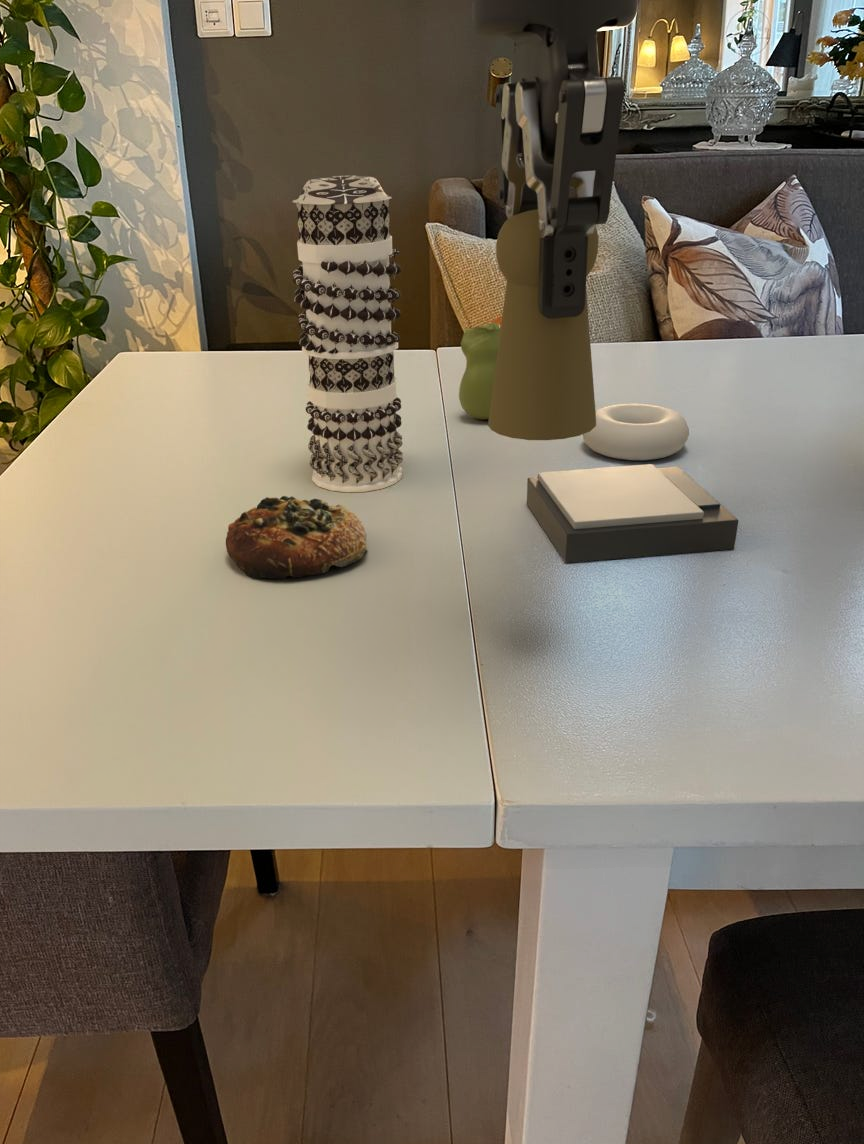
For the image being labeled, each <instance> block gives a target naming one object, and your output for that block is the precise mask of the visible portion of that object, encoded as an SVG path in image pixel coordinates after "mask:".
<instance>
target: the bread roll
mask: <svg viewBox="0 0 864 1144" xmlns="http://www.w3.org/2000/svg"><path fill="white" fill-rule="evenodd" d="M227 529H228V530H227V532H226V538H225V549H226V552H227V554H228V556H229V557H230V558H231V559H232V560H233V561H234V563H235V565H236V566H237V567H238V568H239V569H240V571H242V572H243V573H244V574H245V575H246V576H247V577H250V578H258V579H263V578H266V579H270V578H271V579H281V580H282V579H286V578H288V576H289V577H290V576H291V577H292V578H305V577H308V576H314V575H319V574H325V573H327V572H328V571H329V570H330V567H331V566H335V567H338V568H345V567H347V566H349V565H351V564H353V563H355V562H357V561H358V560H359V561H360V559H361V558H364V554H365V553H366V552H367V550H368V548H369V547H368V546H367V545H368V544H367V533H366V529H365V527H364V525H363V523H362V520H360V519H359V517H358V516H357V514H356V513H355V512H352V511H350V510H349V509H348V510H347V509H346V508H345V506H344V505H341V504H337V505H336V506H335V505H329V504H328V502H327V501H325V500H322V499H319V498H313V499H310V500H307V499H303V500H300V499H297V498H295V496H293V495H292V496H287V495H281V497H280V498H278V497H268V496H266V497H265V498H262V499H261V500H260V502H259V503H258V504H257V505H256V507H252V508H251V509H249V510H247V511H243V512H242V513H241V514H240V516H239V517H238V518H237V519H235V521H233V522H231V523H230V524H228V527H227Z"/></svg>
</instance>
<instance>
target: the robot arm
mask: <svg viewBox="0 0 864 1144" xmlns="http://www.w3.org/2000/svg"><path fill="white" fill-rule="evenodd" d="M471 2H472V3H471V5H472V6H471V7H472V9H471V10H472V11H471V13H472V20H471V21H472V28H473V30H474V33H476V34H477V35H478V36H479V37H482V38H487V39H501V38H509V39H511V40H512V41H513V45H514V50H513V56H512V67H511V74H510V82H505V83H503V84H497V86H496V88H495V92H494V95H493V101H494V104H495V122H496V147H497V150H496V151H497V169H498V170H497V172H498V173H497V175H498V176H497V177H498V191H497V199H498V201H499V204H500V207H502V208H503V207H505V210H504V211H505V216H506V218H507V219H509V218H510V217H511V216H514V215H517V214H520V213H523V212H526V211H531V210H535V209H538V215H539V221H538V228H539V231H540V235H541V237H542V238H540V257H539V297H538V309H539V312H540V313H541V314H542V315H543V316H545V317H546V318H549V319H554V318H566V317H576V316H579V315H580V314H581V313H582V312H583V311H584V308H585V295H586V292H587V277H586V274H587V254H588V236H586V235H591V234H593V233H594V230H595V226H596V227H597V225H606V223H608V219H609V215H610V211H611V208H610V207H611V199H612V191H613V185H614V184H613V182H614V176H615V166H616V160H617V151H618V142H619V136H620V128H621V122H622V121H621V120H622V112H623V105H624V97H625V84H624V79H623V77H622V76H605V77H602V76H600V63H599V62H600V61H599V50H598V49H599V47H598V39H597V37H598V32H602V31H611V30H618V29H623V28H626V27H628V26H629V25H631V24H632V23H633V22H634V21H635V19H636V17H637V14H638V8H639V7H638V6H639V0H471ZM570 187H572V188H574V190H575V191H576V197H570V190H571V189H570ZM507 219H506V220H507Z"/></svg>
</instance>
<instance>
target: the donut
mask: <svg viewBox="0 0 864 1144" xmlns="http://www.w3.org/2000/svg"><path fill="white" fill-rule="evenodd" d="M595 411H596V427H594V428H593V429H592V430H591V431H590V432H587V433H585V434H582V438H583V441H584V444H586V445H587V446H588V447H589V448H590V449H591V451H593V452H596V453H598V454H600V455H603V456H604V457H608V458H613V459H616V460H624V461H651V460H659V459H664V458H667V457H670V456H672V455H674V454H677V453H678V452H679V451H680V450H682V449H683V448H684V446H685V444H686V443H687V442H688V439H689V436H690V429H689V425H688V424H687V420H686V419H685V418H684V417H683V416H682V415H681V414H680V413H678V412H676V411H675V410H672V409H669V408H667V407H665V406H664V407H663V406H659V405H653V404H645V403H621V404H612V405H608V406H604V407H601V408H599V409H597V410H596V409H595Z"/></svg>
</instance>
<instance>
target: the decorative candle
mask: <svg viewBox="0 0 864 1144" xmlns="http://www.w3.org/2000/svg"><path fill="white" fill-rule="evenodd" d="M390 199H393V196H392V195H389V194H387V193H386V192H385V191H384V189H383V188H382V186H381V184H380V182H379V181H378V180H377V178H376V177H374V176H372V175H371V176H370V175H332V176H322V177H314V178H311V179H309V180H308V181H306V182H305V184H304V186H303V187H302V190H301V192H300V195H299V197H298V198H297V199H294V200H292V201H291V203H294V204H296V206H295V207H296V209H297V227H298V231H299V232H298V233H299V235H298V237H299V238H298V240H297V241H296V245H297V246H296V247H297V258H298V261H300V262H301V264H300V265H298V267H297V268H296V269H295V270H294V271H293V272H292V282H293V284H295V285H296V286H298V288H296V289H295V291H294V296H293V302H295V303H296V304H298V305H299V306H300V308H301V309H303V311H302V312H301V313H300V314H299V315H298V317H297V325H298V327H299V329H301V330H303V331H302V332H301V333H300V334H299V341H298V345H300V346H301V352H302V353H304V354H305V355H307V356H308V373H309V380H308V384H307V387H308V388H307V390H308V391H307V392H308V401H307V402H306V406H305V412H306V414H308V415H310V418H309V419H308V422H307V423H308V424H307V425H306V428H307V430H309V431H311V433H312V435H311V436H310V438H309V440H308V441H309V442H308V445H307V448H308V450H309V452H311V454H310V460H309V466H310V468H311V469H313V471H312V476H311V479H312V482H313V483H314V484H315V485H316V486H317V487H320V488H322V489H324V490H328V491H332V492H341V493H365V492H373V491H377V490H383V489H386V488H387V487H391V486H394V485H396V484H397V483H398V482H399V481H400V480H401V479H402V478H403V468H402V466H400V464H402V463H403V461H404V458H403V454H404V453H403V451H402V450H400V448H401V447H402V445H403V443H404V442H403V435H402V434H401V433H399V431H398V430H397V429H398V428H400V427H401V426H402V417H401V415H400V414H397V412H398V411H400V410H401V409H402V399H401V398H400V397H398V395H397V377H396V376H395V359H394V358H395V356H394V352H395V351H396V350H397V349H399V341H400V340H401V337H400V335H399V334H398V333H397V332H395V330H394V329H393V328H392V320H393V322H396V321H397V320H398V319H399V318H401V316H402V313H401V310H400V309H399V308H397V307H395V306H394V303H395V302H396V301H397V300H399V299H400V298H401V297H402V296H401V295H402V293H401V291H400V290H398V289H397V288H395V287H394V286H393V285H391V281H390V277H391V276H393V279H395V277H396V276H398V275H399V274H400V273H402V267H401V266H400V264H398V263H397V262H395V260H394V258H395V257H396V256H398V255H399V254H400V253H401V250H398V249H397V248H394V249H393V236H392V235H391V225H390ZM391 258H392V260H393V261H392V262H391V261H390V259H391ZM391 303H392V306H391Z"/></svg>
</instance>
